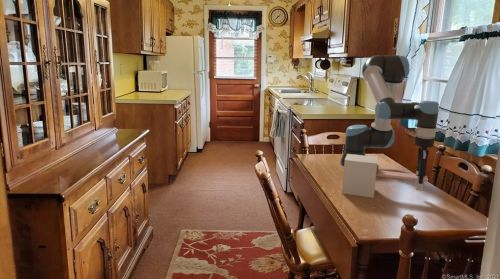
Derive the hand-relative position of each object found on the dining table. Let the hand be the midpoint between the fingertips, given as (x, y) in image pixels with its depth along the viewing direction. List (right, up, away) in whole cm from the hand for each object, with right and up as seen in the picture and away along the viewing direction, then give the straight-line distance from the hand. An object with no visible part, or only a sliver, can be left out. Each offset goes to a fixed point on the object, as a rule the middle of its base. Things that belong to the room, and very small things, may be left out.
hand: (418, 187), depth 165 cm
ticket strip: (-8, +5, +2) cm, 10 cm away
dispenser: (-24, -3, +9) cm, 26 cm away
